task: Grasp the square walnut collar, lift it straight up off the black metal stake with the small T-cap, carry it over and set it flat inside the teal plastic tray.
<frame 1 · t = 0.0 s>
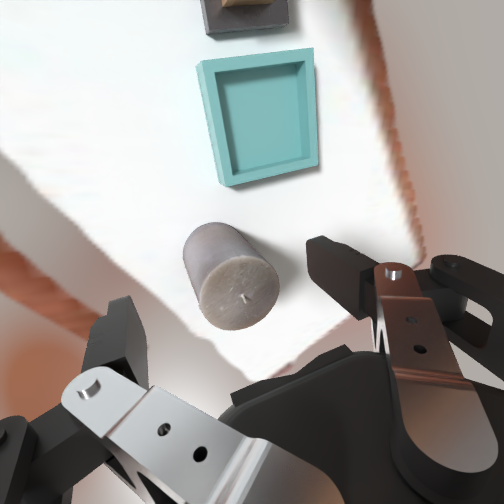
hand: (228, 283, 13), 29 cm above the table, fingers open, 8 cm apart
pillar candle: (213, 250, 44), on the table
tray: (257, 120, 39), on the table
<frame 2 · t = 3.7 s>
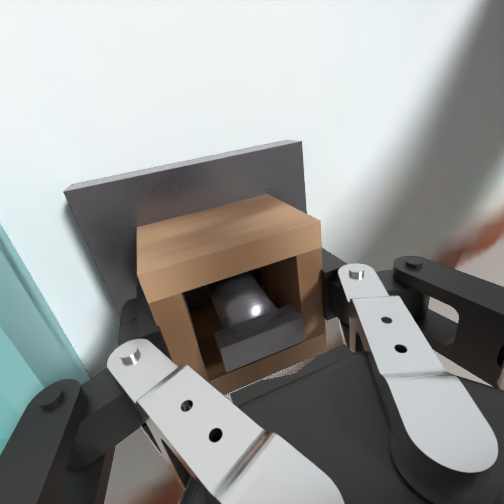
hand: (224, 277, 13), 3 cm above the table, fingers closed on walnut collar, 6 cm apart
stake: (212, 255, 15), on the table
walnut collar: (219, 267, 14), point 2 cm above the table, touching gripper, stake
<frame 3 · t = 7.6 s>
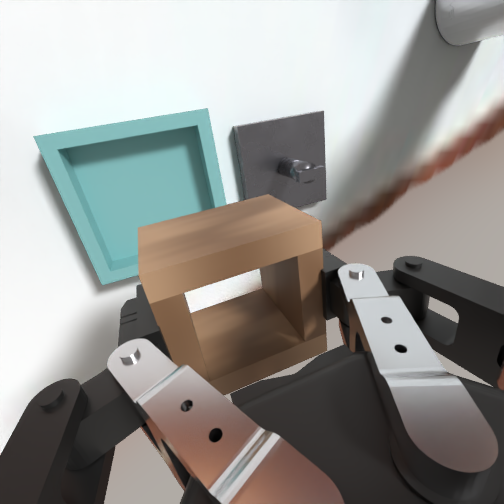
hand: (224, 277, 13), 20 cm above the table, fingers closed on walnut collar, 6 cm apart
stake: (280, 165, 33), on the table
tray: (151, 194, 30), on the table
walnut collar: (220, 267, 14), point 19 cm above the table, touching gripper
when the fingers open (4 cm above the table, at t = 11.9 s): walnut collar drops 1 cm, resting on tray.
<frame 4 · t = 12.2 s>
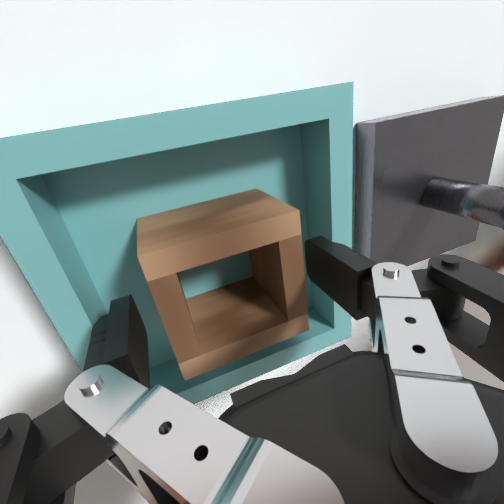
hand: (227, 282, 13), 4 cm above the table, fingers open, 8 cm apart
stake: (415, 188, 20), on the table
tray: (207, 249, 16), on the table
walnut collar: (213, 256, 15), point 1 cm above the table, touching tray
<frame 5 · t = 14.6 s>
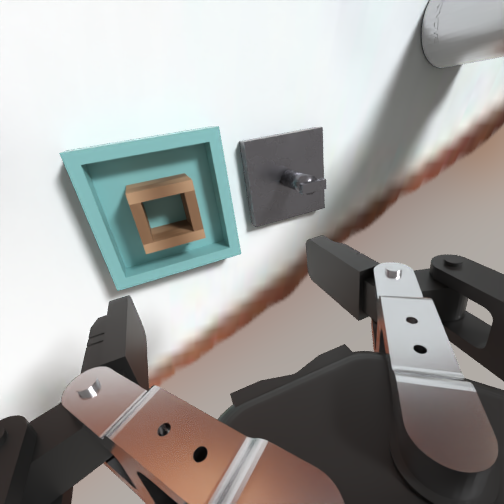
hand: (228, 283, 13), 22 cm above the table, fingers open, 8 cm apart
stake: (282, 176, 36), on the table
tray: (162, 204, 32), on the table
walnut collar: (164, 206, 31), point 1 cm above the table, touching tray
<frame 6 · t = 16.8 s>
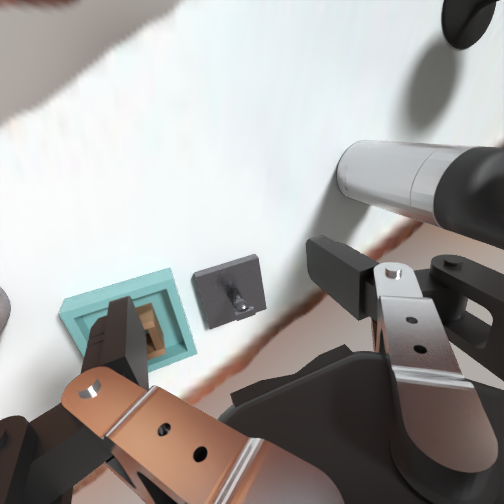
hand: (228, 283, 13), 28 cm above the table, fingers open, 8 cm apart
stake: (231, 289, 46), on the table
tray: (136, 321, 43), on the table
walnut collar: (136, 325, 42), point 1 cm above the table, touching tray
wine glass: (467, 7, 43), on the table
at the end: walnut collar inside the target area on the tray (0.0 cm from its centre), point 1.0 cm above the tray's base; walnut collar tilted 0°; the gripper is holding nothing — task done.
